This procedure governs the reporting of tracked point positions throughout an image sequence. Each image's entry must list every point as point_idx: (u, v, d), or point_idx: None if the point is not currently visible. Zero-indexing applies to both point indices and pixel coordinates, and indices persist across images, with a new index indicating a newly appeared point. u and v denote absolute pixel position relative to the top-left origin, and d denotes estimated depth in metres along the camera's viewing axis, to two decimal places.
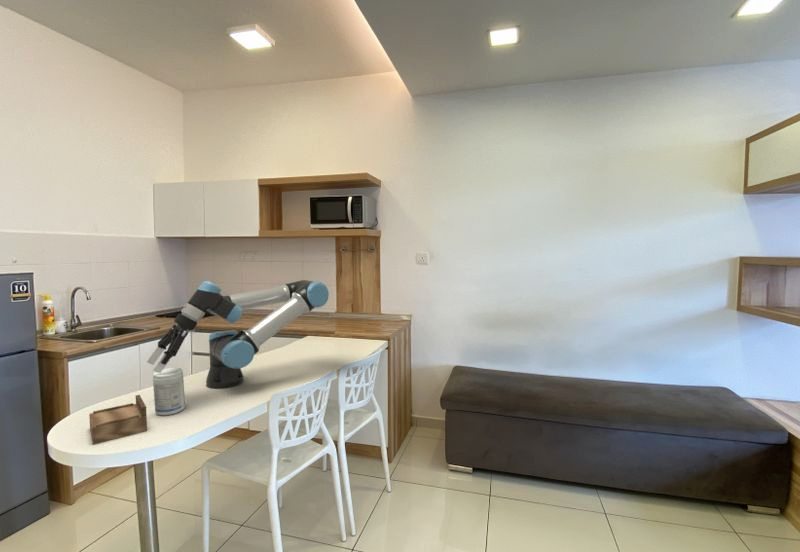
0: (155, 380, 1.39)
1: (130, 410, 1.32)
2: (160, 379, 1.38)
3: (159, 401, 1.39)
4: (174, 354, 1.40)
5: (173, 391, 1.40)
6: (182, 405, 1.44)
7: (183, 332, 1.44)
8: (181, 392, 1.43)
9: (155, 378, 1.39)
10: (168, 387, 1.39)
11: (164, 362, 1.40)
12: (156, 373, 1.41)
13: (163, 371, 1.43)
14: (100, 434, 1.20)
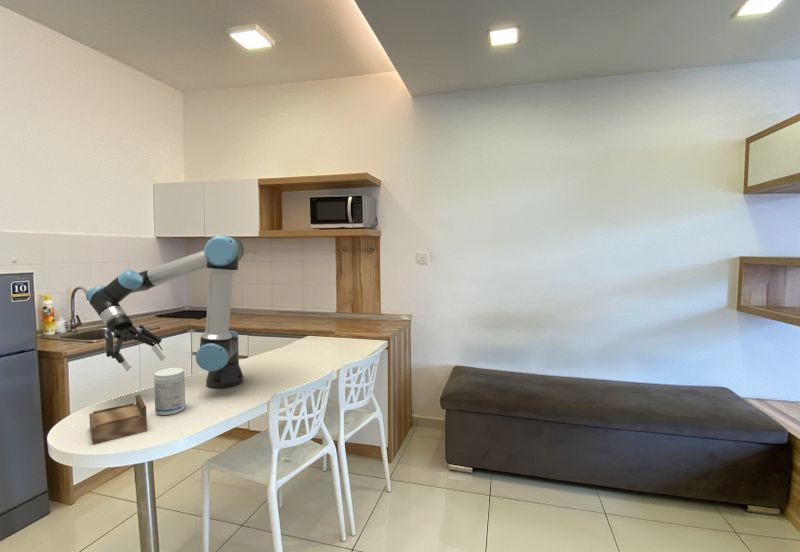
0: (156, 379, 1.39)
1: (130, 410, 1.32)
2: (162, 379, 1.38)
3: (159, 401, 1.39)
4: (109, 352, 1.38)
5: (174, 391, 1.40)
6: (182, 405, 1.44)
7: (105, 335, 1.43)
8: (182, 392, 1.43)
9: (156, 377, 1.39)
10: (169, 386, 1.39)
11: (119, 360, 1.39)
12: (157, 372, 1.41)
13: (164, 371, 1.43)
14: (100, 434, 1.20)
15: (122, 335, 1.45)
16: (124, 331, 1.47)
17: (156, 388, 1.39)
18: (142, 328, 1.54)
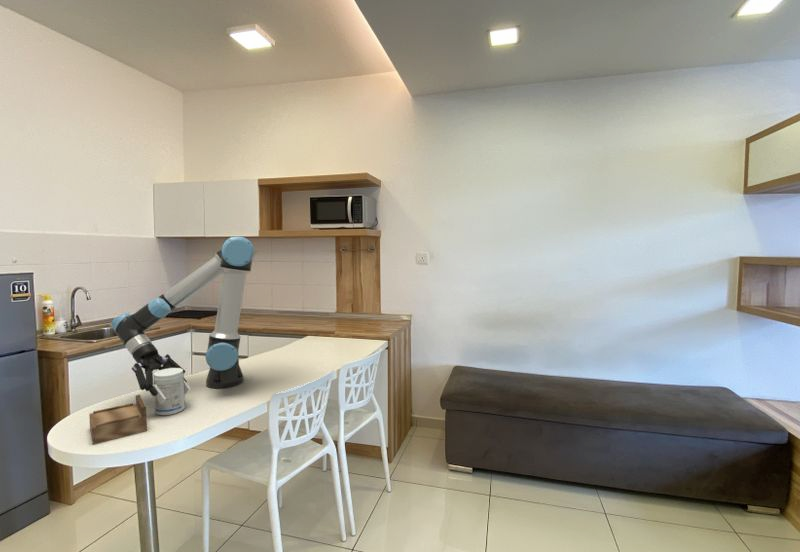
0: (156, 380, 1.39)
1: (130, 410, 1.32)
2: (161, 379, 1.38)
3: None
4: (143, 385, 1.36)
5: (174, 391, 1.40)
6: (182, 405, 1.44)
7: (133, 368, 1.39)
8: (181, 392, 1.43)
9: (155, 378, 1.39)
10: (169, 386, 1.39)
11: (153, 393, 1.37)
12: (157, 373, 1.41)
13: (164, 371, 1.43)
14: (100, 434, 1.20)
15: (150, 366, 1.42)
16: (151, 361, 1.43)
17: None
18: (168, 357, 1.51)
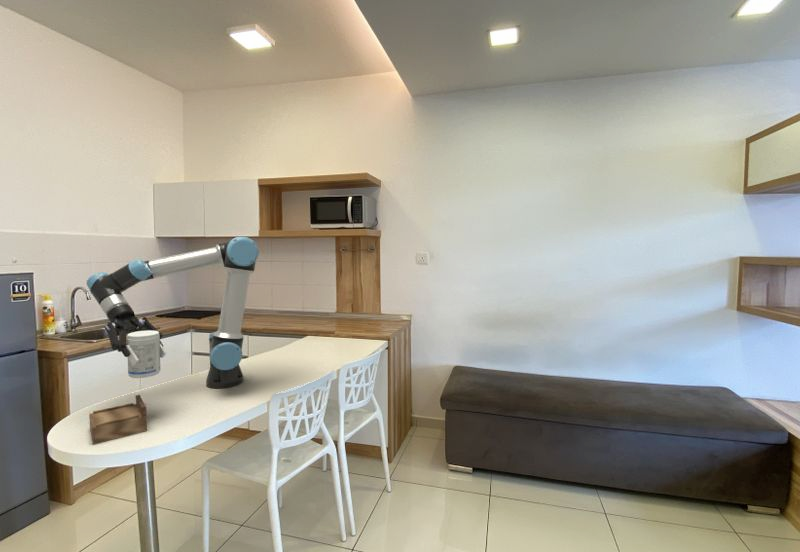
0: (129, 340, 1.32)
1: (130, 410, 1.32)
2: (135, 340, 1.32)
3: None
4: (115, 345, 1.29)
5: (148, 353, 1.33)
6: (157, 369, 1.37)
7: (106, 327, 1.33)
8: (156, 355, 1.36)
9: (129, 338, 1.32)
10: (143, 348, 1.32)
11: (125, 354, 1.30)
12: (131, 334, 1.34)
13: (139, 332, 1.36)
14: (100, 434, 1.20)
15: (124, 326, 1.36)
16: (125, 321, 1.37)
17: None
18: (145, 320, 1.44)
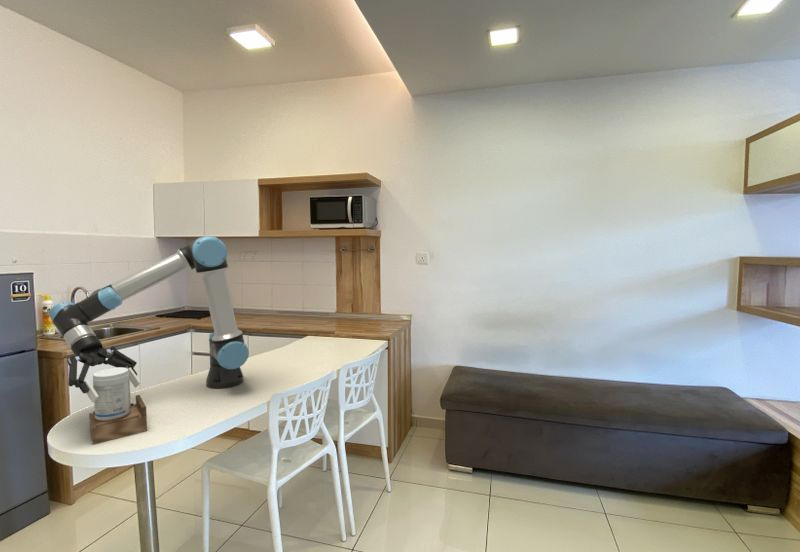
0: (95, 381, 1.23)
1: None
2: (101, 380, 1.22)
3: (98, 405, 1.23)
4: (71, 381, 1.18)
5: (116, 393, 1.24)
6: (127, 409, 1.27)
7: (68, 360, 1.23)
8: (126, 395, 1.27)
9: (94, 379, 1.23)
10: (110, 388, 1.23)
11: (83, 390, 1.20)
12: (97, 373, 1.25)
13: (106, 371, 1.27)
14: (100, 434, 1.20)
15: (89, 360, 1.26)
16: (91, 355, 1.27)
17: (95, 390, 1.23)
18: (114, 350, 1.35)
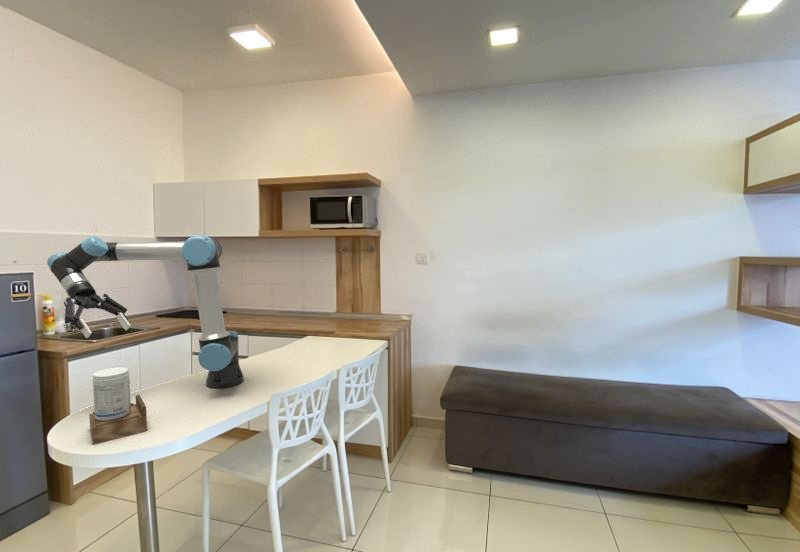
0: (95, 381, 1.23)
1: None
2: (101, 380, 1.22)
3: (98, 405, 1.23)
4: (67, 318, 1.32)
5: (116, 393, 1.24)
6: (127, 409, 1.28)
7: (65, 302, 1.37)
8: (126, 395, 1.27)
9: (94, 379, 1.23)
10: (110, 388, 1.23)
11: (78, 327, 1.34)
12: (97, 373, 1.25)
13: (106, 371, 1.27)
14: (100, 434, 1.20)
15: (83, 302, 1.40)
16: (85, 298, 1.41)
17: (95, 390, 1.23)
18: (106, 297, 1.49)
